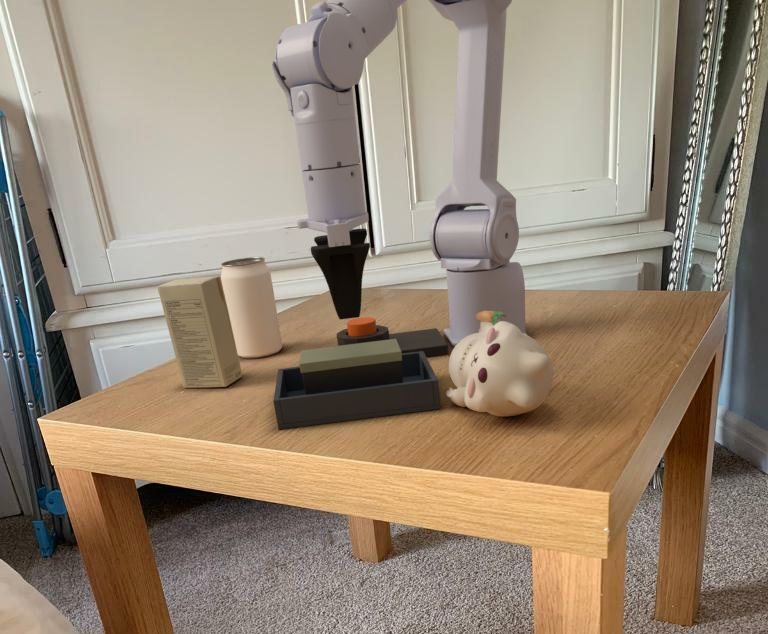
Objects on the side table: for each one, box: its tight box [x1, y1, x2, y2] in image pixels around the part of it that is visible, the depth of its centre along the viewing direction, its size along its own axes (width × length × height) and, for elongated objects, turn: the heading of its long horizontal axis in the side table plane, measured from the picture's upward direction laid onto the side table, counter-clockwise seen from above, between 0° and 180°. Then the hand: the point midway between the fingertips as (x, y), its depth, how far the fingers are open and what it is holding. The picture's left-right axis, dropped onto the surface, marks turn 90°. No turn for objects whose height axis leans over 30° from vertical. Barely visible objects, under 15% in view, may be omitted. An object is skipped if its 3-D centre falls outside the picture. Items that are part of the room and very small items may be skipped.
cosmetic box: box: [157, 275, 243, 389], centre depth 89 cm, size 6×4×12 cm
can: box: [220, 256, 283, 360], centre depth 100 cm, size 6×6×12 cm
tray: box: [272, 351, 441, 430], centre depth 79 cm, size 16×11×3 cm
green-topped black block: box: [299, 339, 403, 395], centre depth 78 cm, size 10×5×5 cm, turn 95°
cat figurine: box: [445, 311, 554, 417], centre depth 71 cm, size 10×8×15 cm
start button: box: [346, 316, 377, 336], centre depth 94 cm, size 4×4×2 cm
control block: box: [336, 324, 449, 358], centre depth 95 cm, size 13×9×3 cm
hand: (349, 309), depth 79 cm, fingers open, 7 cm apart
